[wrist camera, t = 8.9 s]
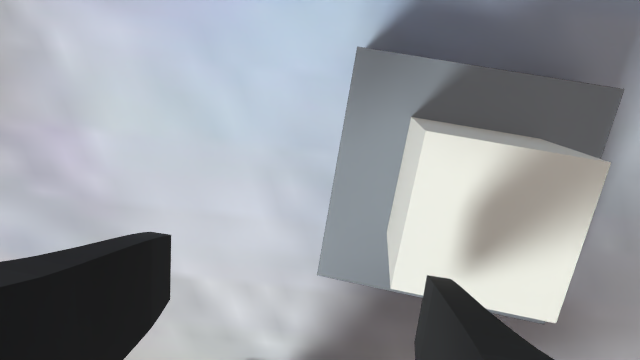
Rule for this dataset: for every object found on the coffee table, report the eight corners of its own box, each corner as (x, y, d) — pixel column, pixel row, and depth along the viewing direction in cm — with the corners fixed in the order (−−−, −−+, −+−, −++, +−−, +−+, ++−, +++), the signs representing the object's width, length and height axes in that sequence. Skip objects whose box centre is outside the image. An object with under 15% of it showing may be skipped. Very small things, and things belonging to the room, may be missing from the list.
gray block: (514, 281, 21) (544, 324, 18) (327, 242, 22) (316, 274, 18) (574, 88, 19) (624, 89, 15) (361, 53, 20) (357, 46, 16)
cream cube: (505, 255, 17) (555, 323, 12) (386, 232, 18) (390, 289, 13) (539, 138, 16) (611, 162, 11) (411, 116, 16) (425, 130, 11)
